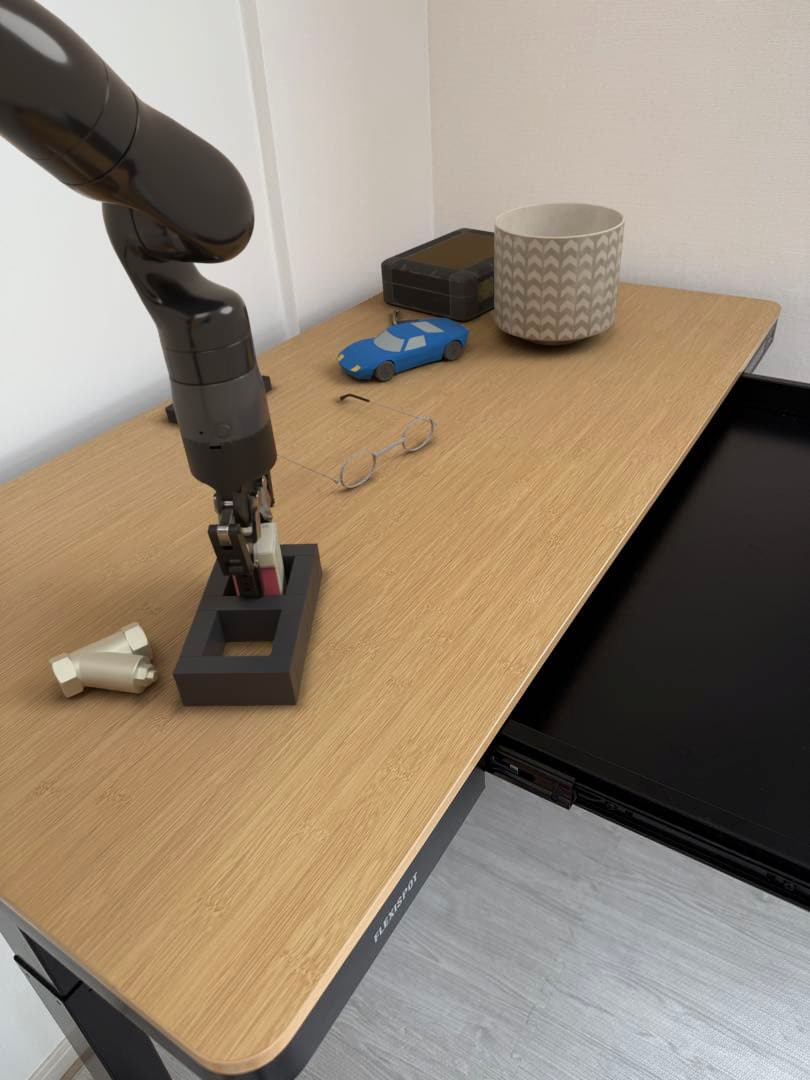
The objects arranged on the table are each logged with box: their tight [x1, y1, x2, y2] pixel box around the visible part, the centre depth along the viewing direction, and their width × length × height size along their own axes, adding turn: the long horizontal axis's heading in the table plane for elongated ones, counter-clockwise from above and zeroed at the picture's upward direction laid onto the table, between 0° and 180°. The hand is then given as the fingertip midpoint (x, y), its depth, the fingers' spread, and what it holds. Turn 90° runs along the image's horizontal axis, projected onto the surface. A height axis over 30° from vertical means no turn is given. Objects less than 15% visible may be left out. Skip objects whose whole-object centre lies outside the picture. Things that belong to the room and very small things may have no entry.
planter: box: [493, 201, 626, 347], centre depth 123 cm, size 19×19×18 cm
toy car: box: [336, 317, 470, 382], centre depth 122 cm, size 9×20×5 cm, turn 120°
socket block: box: [172, 542, 323, 707], centre depth 74 cm, size 18×10×4 cm, turn 178°
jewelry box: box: [380, 227, 494, 322], centre depth 145 cm, size 25×20×8 cm
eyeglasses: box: [277, 393, 438, 489], centre depth 103 cm, size 18×19×4 cm
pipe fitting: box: [48, 621, 159, 699], centre depth 70 cm, size 8×4×7 cm
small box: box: [232, 521, 287, 596], centre depth 76 cm, size 5×4×8 cm
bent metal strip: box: [391, 309, 420, 325], centre depth 137 cm, size 7×1×5 cm
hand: (259, 575), depth 76 cm, fingers closed on small box, 5 cm apart
